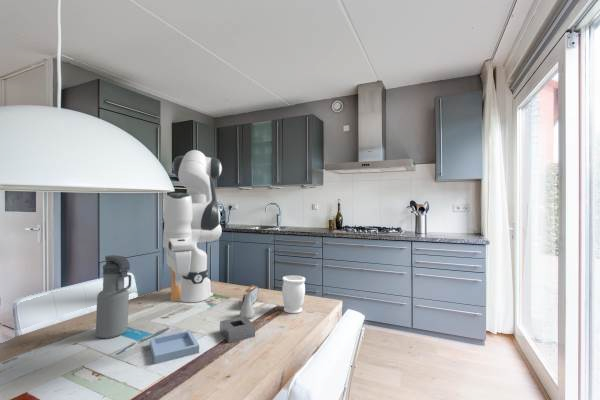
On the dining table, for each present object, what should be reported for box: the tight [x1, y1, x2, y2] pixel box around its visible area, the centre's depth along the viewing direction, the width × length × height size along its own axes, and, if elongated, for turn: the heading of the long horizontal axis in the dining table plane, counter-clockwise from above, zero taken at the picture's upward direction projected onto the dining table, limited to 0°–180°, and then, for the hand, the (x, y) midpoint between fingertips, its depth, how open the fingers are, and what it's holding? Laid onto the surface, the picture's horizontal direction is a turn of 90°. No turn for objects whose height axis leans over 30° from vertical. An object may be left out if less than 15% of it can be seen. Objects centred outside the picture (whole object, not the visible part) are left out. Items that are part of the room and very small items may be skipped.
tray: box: [149, 329, 200, 365], centre depth 96 cm, size 13×13×2 cm
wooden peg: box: [169, 267, 181, 302], centre depth 96 cm, size 4×4×11 cm
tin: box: [241, 284, 259, 305], centre depth 139 cm, size 15×3×8 cm, turn 168°
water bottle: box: [95, 254, 132, 339], centre depth 106 cm, size 10×10×28 cm
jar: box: [281, 274, 306, 314], centre depth 134 cm, size 11×10×15 cm
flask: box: [238, 292, 256, 320], centre depth 125 cm, size 7×7×10 cm
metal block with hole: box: [219, 316, 256, 344], centre depth 108 cm, size 10×10×4 cm
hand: (176, 283), depth 96 cm, fingers closed on wooden peg, 4 cm apart
